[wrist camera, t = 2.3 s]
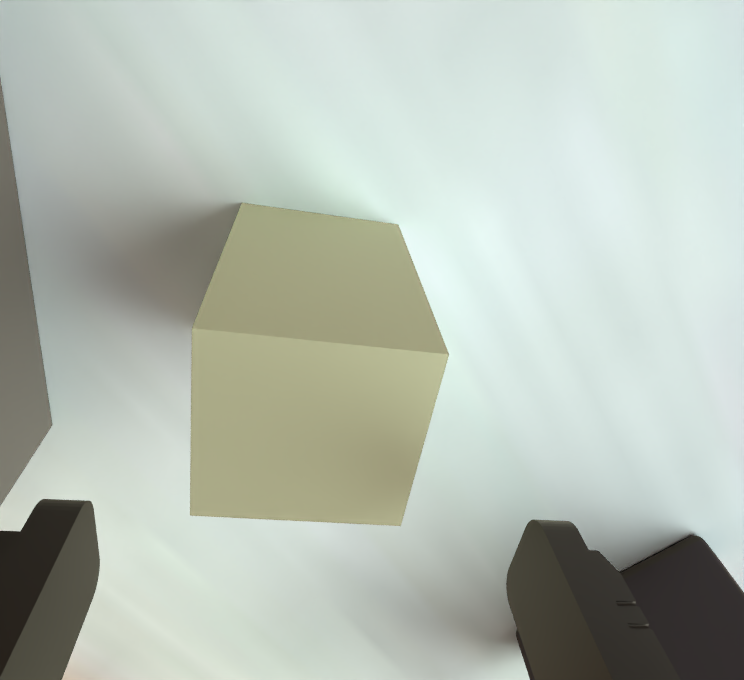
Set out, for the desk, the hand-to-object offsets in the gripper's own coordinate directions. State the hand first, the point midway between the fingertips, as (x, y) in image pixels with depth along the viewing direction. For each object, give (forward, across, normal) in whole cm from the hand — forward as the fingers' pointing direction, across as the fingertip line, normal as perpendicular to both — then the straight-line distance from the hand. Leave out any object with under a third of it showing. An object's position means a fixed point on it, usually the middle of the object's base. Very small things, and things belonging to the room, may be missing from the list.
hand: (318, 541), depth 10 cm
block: (+10, 0, -1) cm, 10 cm away
